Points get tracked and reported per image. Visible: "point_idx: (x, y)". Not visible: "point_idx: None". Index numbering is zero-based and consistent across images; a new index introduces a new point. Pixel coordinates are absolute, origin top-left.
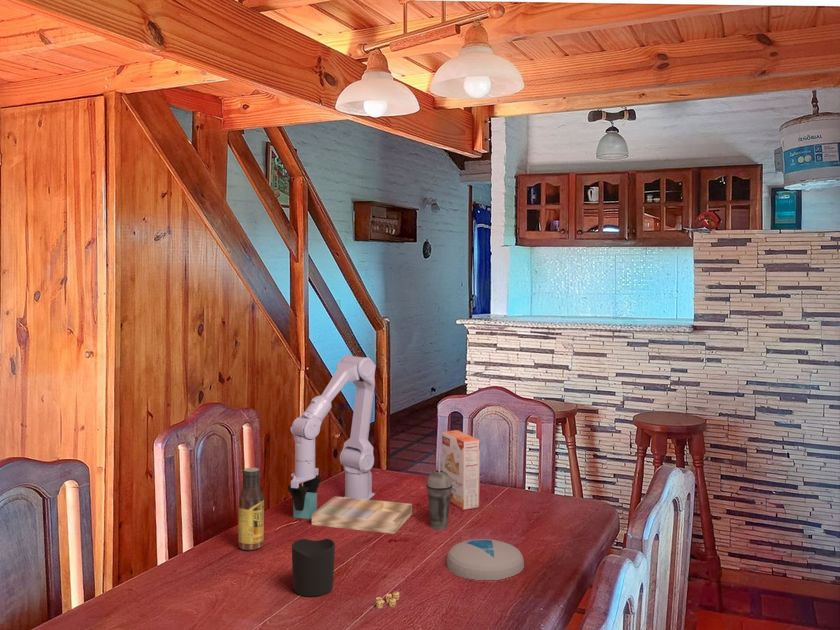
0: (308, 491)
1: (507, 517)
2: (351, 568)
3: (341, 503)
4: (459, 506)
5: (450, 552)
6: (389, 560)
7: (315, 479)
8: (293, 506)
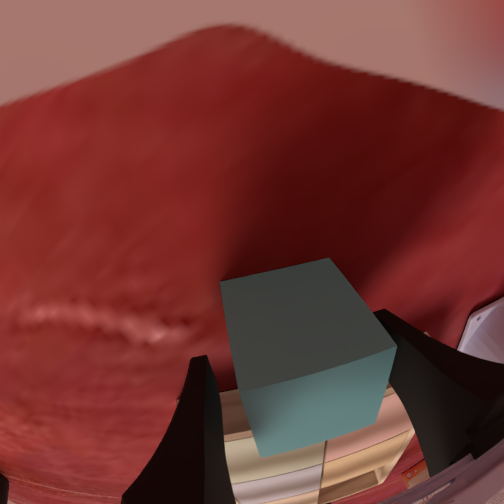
0: (411, 368)
1: (375, 497)
2: (60, 495)
3: (364, 430)
4: (412, 470)
5: None
6: None
7: (440, 468)
8: (227, 328)
